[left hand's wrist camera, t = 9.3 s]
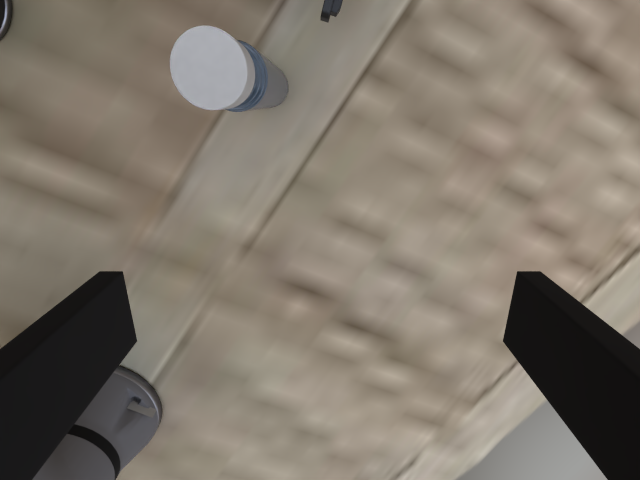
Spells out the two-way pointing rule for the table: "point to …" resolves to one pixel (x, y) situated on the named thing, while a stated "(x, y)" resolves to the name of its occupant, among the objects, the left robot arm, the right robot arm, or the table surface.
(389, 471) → the table surface
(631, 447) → the left robot arm
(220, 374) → the table surface
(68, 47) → the table surface
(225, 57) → the cap
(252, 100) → the bottle
